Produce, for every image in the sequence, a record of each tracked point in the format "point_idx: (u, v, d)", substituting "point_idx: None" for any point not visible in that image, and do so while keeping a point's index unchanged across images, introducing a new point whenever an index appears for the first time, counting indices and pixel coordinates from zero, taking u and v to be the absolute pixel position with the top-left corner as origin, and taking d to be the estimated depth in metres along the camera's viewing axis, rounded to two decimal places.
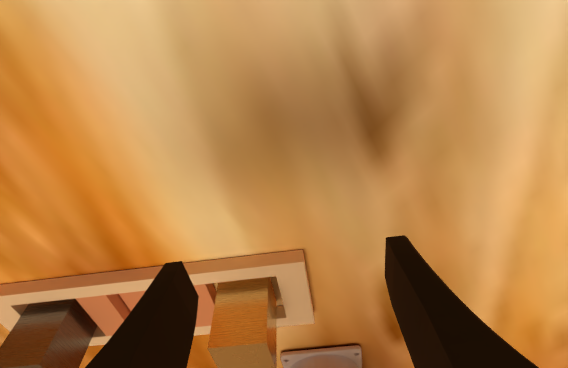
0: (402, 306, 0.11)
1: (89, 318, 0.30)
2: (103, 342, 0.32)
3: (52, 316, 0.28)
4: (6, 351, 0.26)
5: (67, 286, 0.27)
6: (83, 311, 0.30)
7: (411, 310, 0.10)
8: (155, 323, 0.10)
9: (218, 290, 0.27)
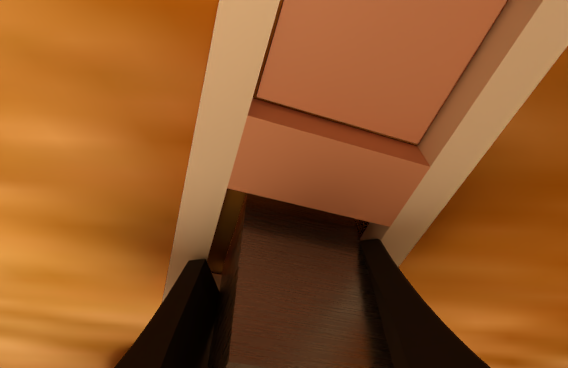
0: None
1: (321, 220, 0.12)
2: (402, 246, 0.12)
3: (234, 256, 0.11)
4: None
5: (186, 177, 0.11)
6: (292, 213, 0.12)
7: (380, 313, 0.10)
8: (184, 320, 0.10)
9: None
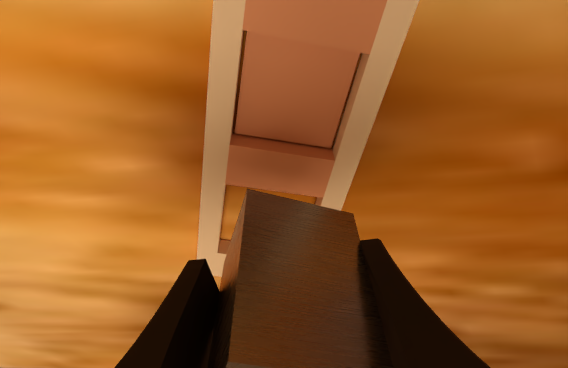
0: None
1: (321, 220, 0.12)
2: None
3: (234, 256, 0.11)
4: None
5: (202, 180, 0.19)
6: (292, 213, 0.12)
7: (381, 313, 0.10)
8: (184, 320, 0.10)
9: None
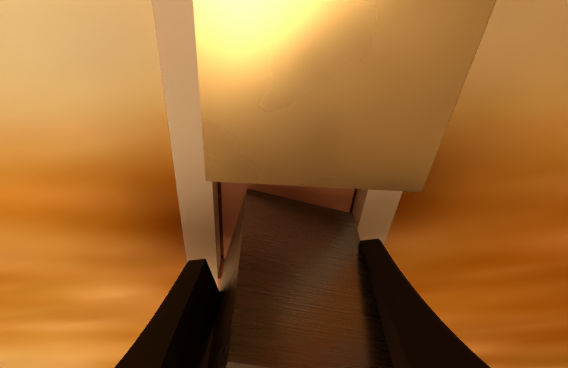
0: None
1: (321, 220, 0.12)
2: None
3: (234, 256, 0.11)
4: None
5: None
6: (292, 213, 0.12)
7: (380, 313, 0.10)
8: (183, 320, 0.10)
9: None
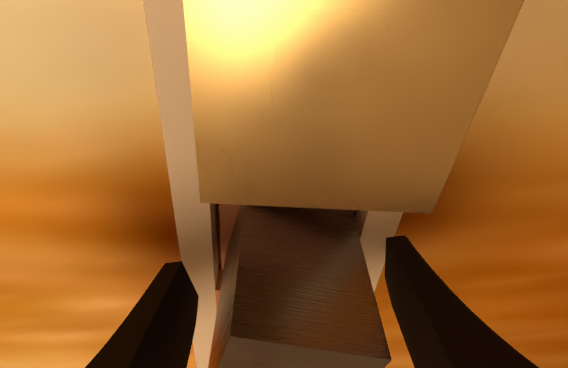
0: (402, 306, 0.11)
1: (319, 208, 0.13)
2: None
3: (235, 243, 0.12)
4: (212, 354, 0.11)
5: None
6: None
7: (411, 310, 0.10)
8: (155, 323, 0.10)
9: None
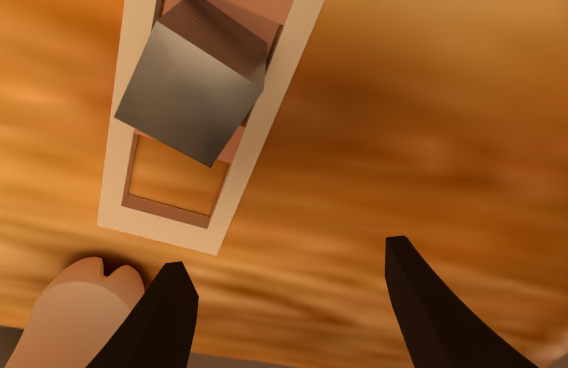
0: (402, 306, 0.11)
1: (242, 30, 0.16)
2: (242, 178, 0.21)
3: None
4: None
5: (110, 125, 0.19)
6: (222, 16, 0.16)
7: (411, 310, 0.10)
8: (155, 323, 0.10)
9: None
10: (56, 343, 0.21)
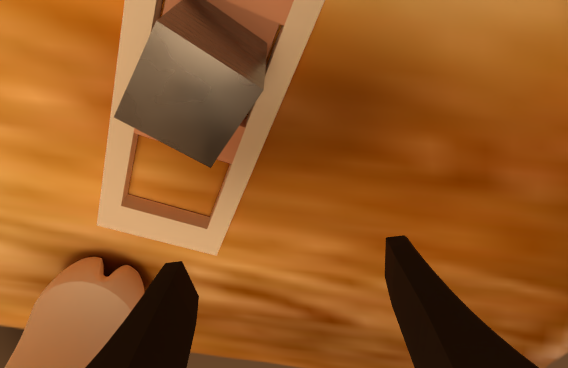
0: (402, 306, 0.11)
1: (242, 30, 0.16)
2: (242, 178, 0.21)
3: None
4: None
5: (110, 125, 0.19)
6: (222, 16, 0.16)
7: (411, 310, 0.10)
8: (155, 323, 0.10)
9: None
10: (56, 343, 0.21)
